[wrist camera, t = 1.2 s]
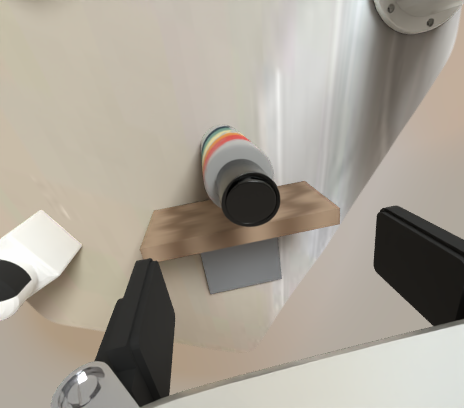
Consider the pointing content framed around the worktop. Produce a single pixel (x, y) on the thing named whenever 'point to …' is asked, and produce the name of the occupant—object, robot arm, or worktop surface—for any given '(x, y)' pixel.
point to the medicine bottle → (32, 259)
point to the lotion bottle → (238, 177)
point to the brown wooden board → (229, 234)
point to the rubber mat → (242, 265)
